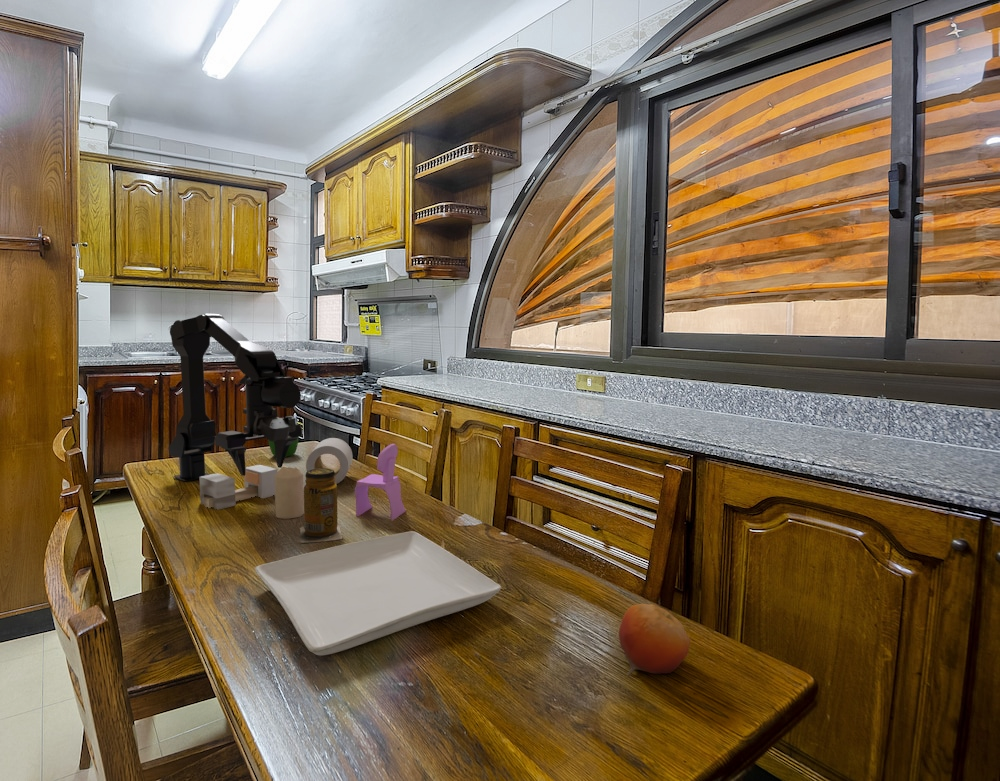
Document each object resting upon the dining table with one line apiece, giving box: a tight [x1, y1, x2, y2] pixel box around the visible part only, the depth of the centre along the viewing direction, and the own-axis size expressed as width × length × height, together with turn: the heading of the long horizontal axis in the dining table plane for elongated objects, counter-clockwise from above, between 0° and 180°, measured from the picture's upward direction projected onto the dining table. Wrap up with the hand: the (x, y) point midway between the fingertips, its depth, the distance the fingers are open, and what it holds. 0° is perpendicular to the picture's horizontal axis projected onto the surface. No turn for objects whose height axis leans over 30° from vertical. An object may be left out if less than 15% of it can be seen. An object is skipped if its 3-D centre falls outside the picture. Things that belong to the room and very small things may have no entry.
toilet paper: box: [305, 437, 353, 485], centre depth 145 cm, size 10×10×10 cm
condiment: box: [299, 467, 343, 544], centre depth 108 cm, size 7×8×12 cm
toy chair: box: [354, 443, 406, 521], centre depth 120 cm, size 8×9×15 cm
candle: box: [274, 466, 304, 520], centre depth 118 cm, size 6×6×10 cm
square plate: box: [254, 530, 502, 656], centre depth 84 cm, size 27×27×4 cm
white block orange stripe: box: [243, 464, 278, 499], centre depth 133 cm, size 7×4×6 cm, turn 55°
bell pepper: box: [267, 437, 299, 458], centre depth 171 cm, size 8×8×10 cm
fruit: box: [618, 603, 691, 676], centre depth 67 cm, size 8×8×8 cm
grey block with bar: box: [198, 472, 259, 511], centre depth 130 cm, size 7×18×6 cm, turn 145°
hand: (261, 471), depth 133 cm, fingers open, 9 cm apart
